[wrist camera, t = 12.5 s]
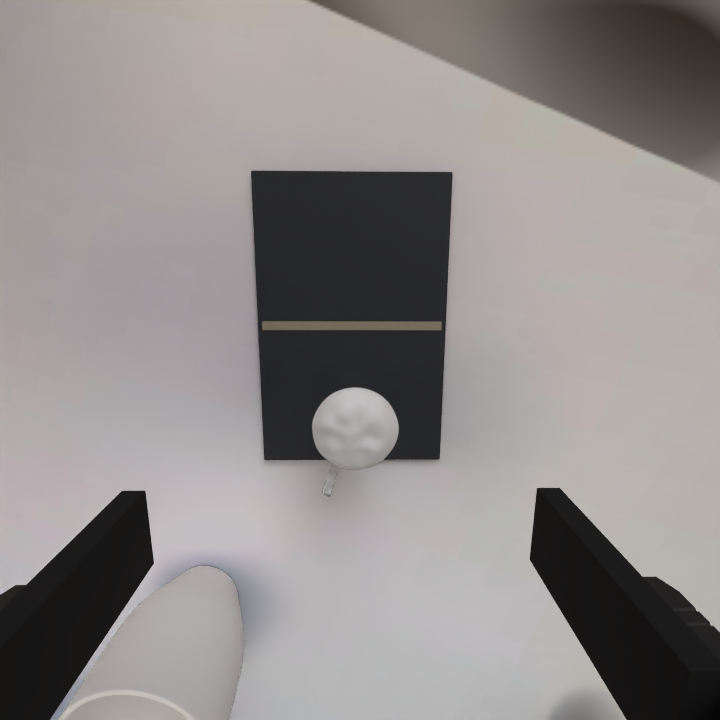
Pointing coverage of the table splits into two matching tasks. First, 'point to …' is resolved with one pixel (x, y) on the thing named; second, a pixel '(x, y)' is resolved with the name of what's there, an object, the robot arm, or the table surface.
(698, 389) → the table surface
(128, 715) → the mug
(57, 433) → the table surface
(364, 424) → the milkshake
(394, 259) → the desk mat
